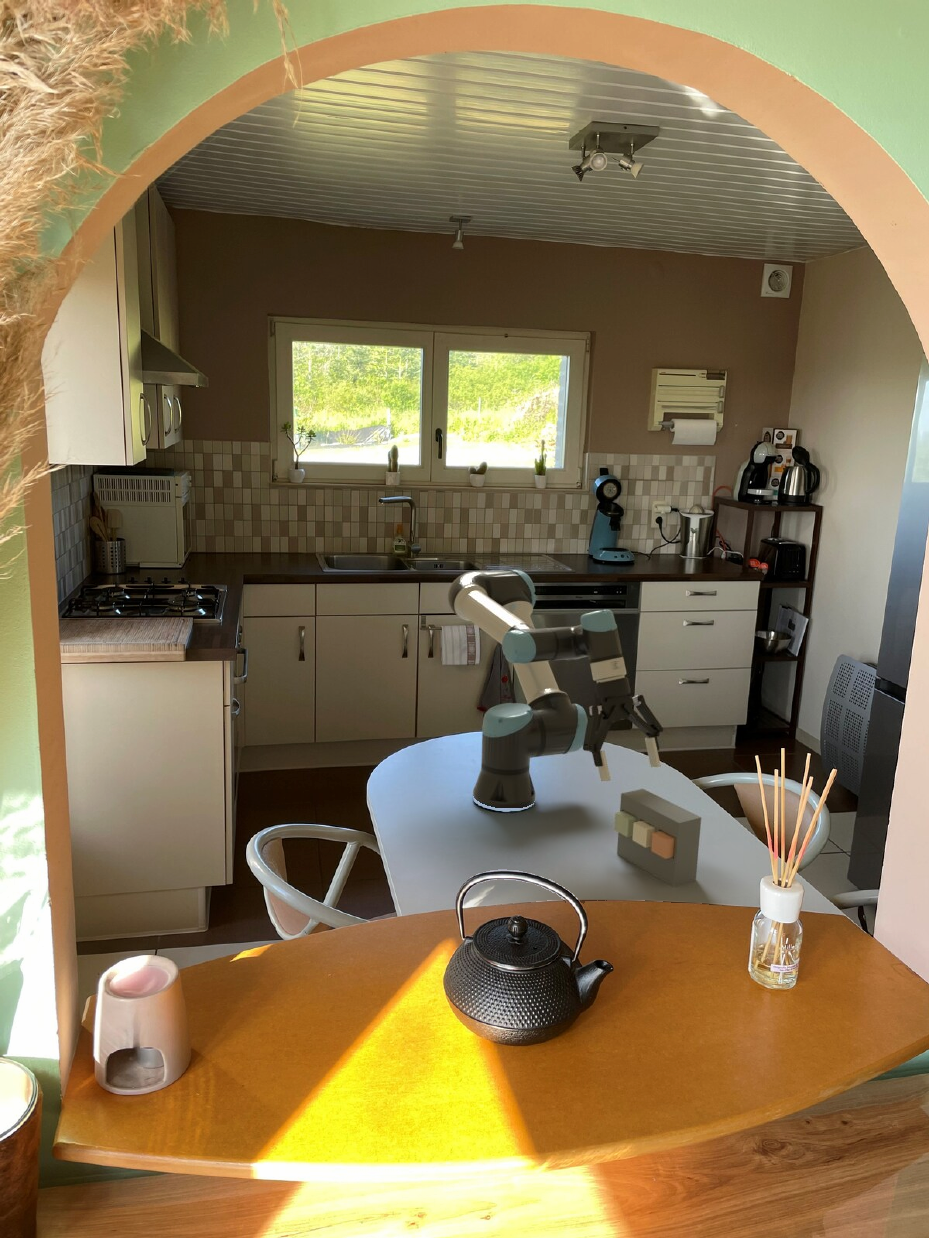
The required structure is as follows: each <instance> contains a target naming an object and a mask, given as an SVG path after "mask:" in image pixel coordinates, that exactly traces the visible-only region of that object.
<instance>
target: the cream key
mask: <svg viewBox="0 0 929 1238" xmlns="http://www.w3.org/2000/svg"><path fill="white" fill-rule="evenodd" d="M655 830H656V827H654V826H652V825H651V824H649V823H647V822H645V821H643V820H642V821H638V822H634V824H633V838H632V840H633V841H635V842H637V843H638V844H640V845H642V846H644V847H645V848H647V847H650V846H652V834H653V833H654V832H655Z"/></svg>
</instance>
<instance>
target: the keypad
mask: <svg viewBox="0 0 929 1238" xmlns="http://www.w3.org/2000/svg"><path fill="white" fill-rule="evenodd" d="M621 811H626V812H628V813H630V814H632V815H634V816H636V817H637V822H638V821H642V820H643V821H645V822H647V823H649V824H651V825H652V826H654V827H656V830H655V832H658V831H664V832H666V833H667V834H669V835H671V836H673V837H675V850H674V857H670V858H666V859H665V858H663V857H661V856H659V855H658V854H656V853H654V852H652V851H651V847H652V846H650V847H647V848H645V847H644V846H642V845H640V844H638V843H637V842H635V841H633V840H632V838H633V836H630V837H626V836H624V835H622V834H621V833H619V832H618V833H617V835H618V836H617V848H616V855H618V856H620V857H622V858H624V859H625V860H626V861H628V862H630V863H632V864H633V865H635V866H637V867H639V868H640V869H642V870H644V871H646V872H648V873H650V875H653V876H655V877H656V878H658V879H660V880H661V881H663V882H664V883H667V884H668V885H670V886H671V887H676V886H680V885H684V884H687V883H689V882H692V881H696V880H697V872H698V871H697V870H698V859H699V858H698V857H699V850H700V849H699V847H700V837H701V836H700V835H701V824H702V817H701V816H699V815H697V814H695V813H693V812H691V811H689V810H687V809H685V808H683V807H681V806H679V805H678V804H675V803H673V802H671V801H669V800H666V799H664V798H663V797H660V796H659V795H656V794H655V793H653V792H650V791H648V790H646V789H645V788H639V789H636V790H635V789H634V790H630V791H627V792H622V793H620V806H619V812H621Z"/></svg>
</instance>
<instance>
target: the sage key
mask: <svg viewBox="0 0 929 1238" xmlns="http://www.w3.org/2000/svg"><path fill="white" fill-rule="evenodd" d="M614 814H615V817H614V819H615V820H614V829H613V830H614V831H615V832H618V833H621V834H622V835H624V836H626V837H630V836H633V824H634V822H637V817H636V816H634V815H632V814H630V813H628V812H626V811H621V812H620V811H618V812H615V813H614Z"/></svg>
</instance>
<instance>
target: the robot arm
mask: <svg viewBox="0 0 929 1238" xmlns="http://www.w3.org/2000/svg"><path fill="white" fill-rule="evenodd" d="M535 592H536V587H535V585H534V582H533V580H532V579H531V577H530V576H529V574H527V573H526V572H524V571H523V570H519V569H518V570H517V569H509V568H508V569H504V570H479V571H478V570H475V571H467V572H464V573H463V574H460V575H459V576H458V577H456V579H454V580H453V582H451V585H450V587H449V590H448V593H447V600H448V601H447V602H448V606H449V607H450V609H451V611H452V612H453V613H454V614H455V615H456V616H457V617H458V618H459V619H461V620H463V621H468V622H472V624H474V625H476V626H477V627H478V628H480V629H481V630H482V631H483V632H485V633H486V634H487V635H488V636H490V637H491V638H492V639H494V640H495V641H497V642H498V643H499V644H501V647H502V649H501V650H502V653H503V655H504V656H505V657H504V658H505V660H506V661H507V662H509V663H510V664H512V665H513V668H514V670H515V672H516V676H517V678H518V681H519V683H520V686H521V688H522V691H523V695H524V697H525V699H526V703H522V702H521V703H520V702H515V703H513V702H506V703H500V704H496V705H495V706H492V707H490V708H489V709H487V710H486V712H485V713H484V716H483V721H482V726H481V732H482V734H481V737H482V739H481V741H482V742H481V768H480V771H479V774H478V776H477V780H476V782H475V786H474V788H473V792H472V797H473V796H474V798H475V799H476V800H477V801H479V802H480V803H482V804H485V805H487V806H491V807H495V808H523V807H527V806H529V805H531V804H533V803H534V801H535V802H536V791H535V787H534V783H533V780H532V776H531V772H530V768H531V767H530V764H531V763H530V761H531V758H537V757H538V758H540V757H546V756H555V755H561V754H562V755H566V754H568V753H574V752H577V751H579V750H580V749H582V750H583V751H585V752H589V753H591V754H592V759H593V763H594V767H597V768H598V773H599V778H600V781H601V782H608V781H611V775H610V774H611V773H610V771H609V766H608V762H607V760H608V759H607V756H606V753H605V750H602V747H603V746H604V744H605V743H604V742H606V741H605V740H606V739H607V735H608V734H609V730H610V729H611V726H612V725H613V724H614V723H617V722H619V721H622V720H629V721H630V722H631V723H632V724H633V725H634V726H636V728H638V730H640V731H641V732H642V733H643V734H644V735H645V736H646V737H645V738H644V742H645V747H646V750H647V751H646V752H647V756H648V760H649V765H650V768H659V767H661V761H660V757H659V751H660V745H659V740H658V737H659V736H660V733H663V732H664V728H663V726H662V724H661V723H660V721H658V719H657V718H656V716H655V715H654V713H653V712H652V710H651V709H650V707H649V706H648V704H647V703H646V700H645V696H644V695H643V694H637V695H633V697H632V696H631V692H632V691H631V687H630V680H629V678H628V677H627V676H626V675H627V669H626V664H625V659H624V655H623V651H622V645H621V640H620V635H619V629H618V625H617V623H616V620H615V615H614V613H613V611H612V610H611V609H602V610H596V611H591V612H589V613H584V614H582V615H581V616H580V624H579V625H574V626H559V627H544V628H543V627H542V628H535V625H534V623H533V620H532V617H531V616H532V614H533V610H534V606H535V604H536V601H537V600H536V594H535ZM587 657H588V660H589V666H590V670H591V676H592V680H593V681H594V682H595V681H596V683H595V684H594V688H595V689H594V690H595V695H596V698H597V700H598V701H599V702H598V703H599V704H598V705H589V706H588V707H587V713H586V710H585V709H584V707H583V706H581V705H580V704H578V703H572V702H571V699H570V697H569V695H568V694H567V692H565V691H563V690H560V688H559V686H558V683H557V681H556V679H555V675H554V673H553V670H552V668H551V666H550V663H549V661H551V662H552V661H562V660H565V661H577V660H580V659H582V658H587ZM633 705H634V706H635V707H636V708H635V709H637V711H638V712H639V713H640V715H641V716H640V715H639V714H638V712H637V711H636V710H635V709H634V708H633ZM601 714H602V716H601V719H600V721H599V718H600V717H599V716H600V715H601ZM587 715H588V716H587ZM599 722H600V725H599V726H598V724H599Z"/></svg>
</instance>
